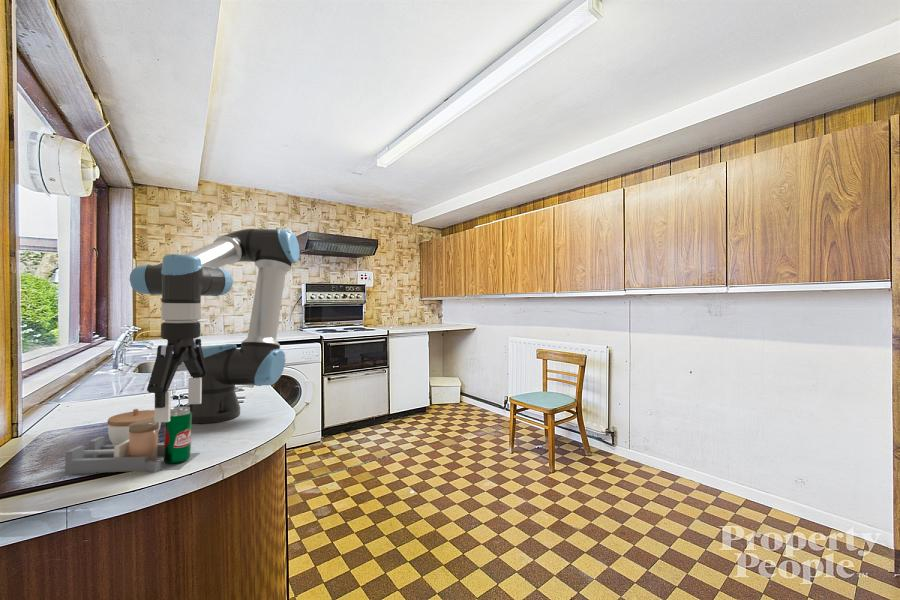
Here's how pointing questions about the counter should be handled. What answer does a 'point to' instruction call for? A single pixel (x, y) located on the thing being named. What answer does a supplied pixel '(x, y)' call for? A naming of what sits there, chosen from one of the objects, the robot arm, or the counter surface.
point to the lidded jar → (126, 424)
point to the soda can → (178, 436)
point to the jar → (144, 439)
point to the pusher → (112, 450)
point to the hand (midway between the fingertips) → (179, 412)
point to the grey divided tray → (115, 460)
